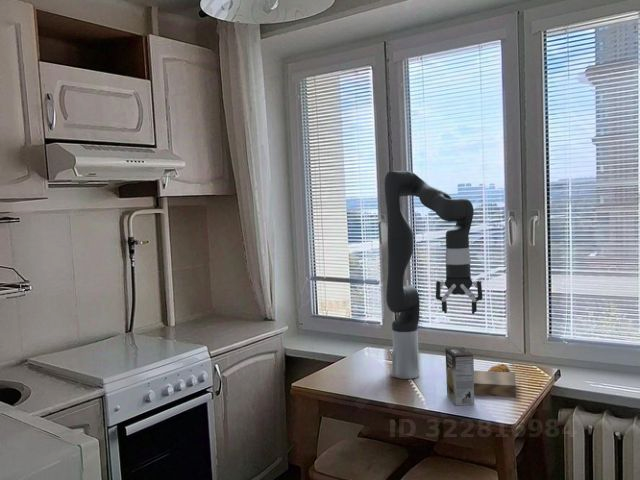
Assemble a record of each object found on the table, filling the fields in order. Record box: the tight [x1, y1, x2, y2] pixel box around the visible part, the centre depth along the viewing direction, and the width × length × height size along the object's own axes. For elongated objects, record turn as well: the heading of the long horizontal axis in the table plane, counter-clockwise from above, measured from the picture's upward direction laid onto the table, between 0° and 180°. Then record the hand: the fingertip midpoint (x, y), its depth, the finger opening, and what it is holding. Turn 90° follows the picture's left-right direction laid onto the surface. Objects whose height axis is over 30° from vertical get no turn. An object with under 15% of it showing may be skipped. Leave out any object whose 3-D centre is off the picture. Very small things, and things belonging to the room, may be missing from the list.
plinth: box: [474, 370, 517, 399], centre depth 187 cm, size 14×14×4 cm
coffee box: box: [444, 347, 475, 407], centre depth 177 cm, size 9×6×16 cm
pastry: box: [487, 363, 511, 372], centre depth 201 cm, size 9×7×4 cm
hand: (459, 313), depth 176 cm, fingers open, 8 cm apart
